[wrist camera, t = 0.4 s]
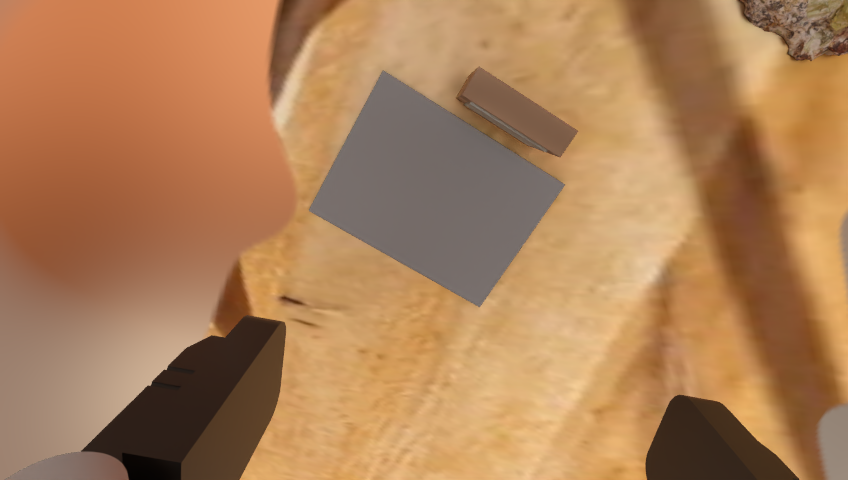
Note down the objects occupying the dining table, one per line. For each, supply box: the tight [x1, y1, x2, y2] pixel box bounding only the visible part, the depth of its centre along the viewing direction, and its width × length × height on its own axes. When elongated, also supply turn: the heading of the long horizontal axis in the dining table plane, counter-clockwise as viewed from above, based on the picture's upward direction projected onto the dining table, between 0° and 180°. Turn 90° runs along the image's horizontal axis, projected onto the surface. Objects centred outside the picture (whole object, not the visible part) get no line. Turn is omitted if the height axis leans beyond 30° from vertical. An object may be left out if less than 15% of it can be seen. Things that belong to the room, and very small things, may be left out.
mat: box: [309, 71, 565, 307], centre depth 34 cm, size 12×16×1 cm
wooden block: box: [456, 67, 578, 157], centre depth 29 cm, size 2×7×7 cm, turn 59°
